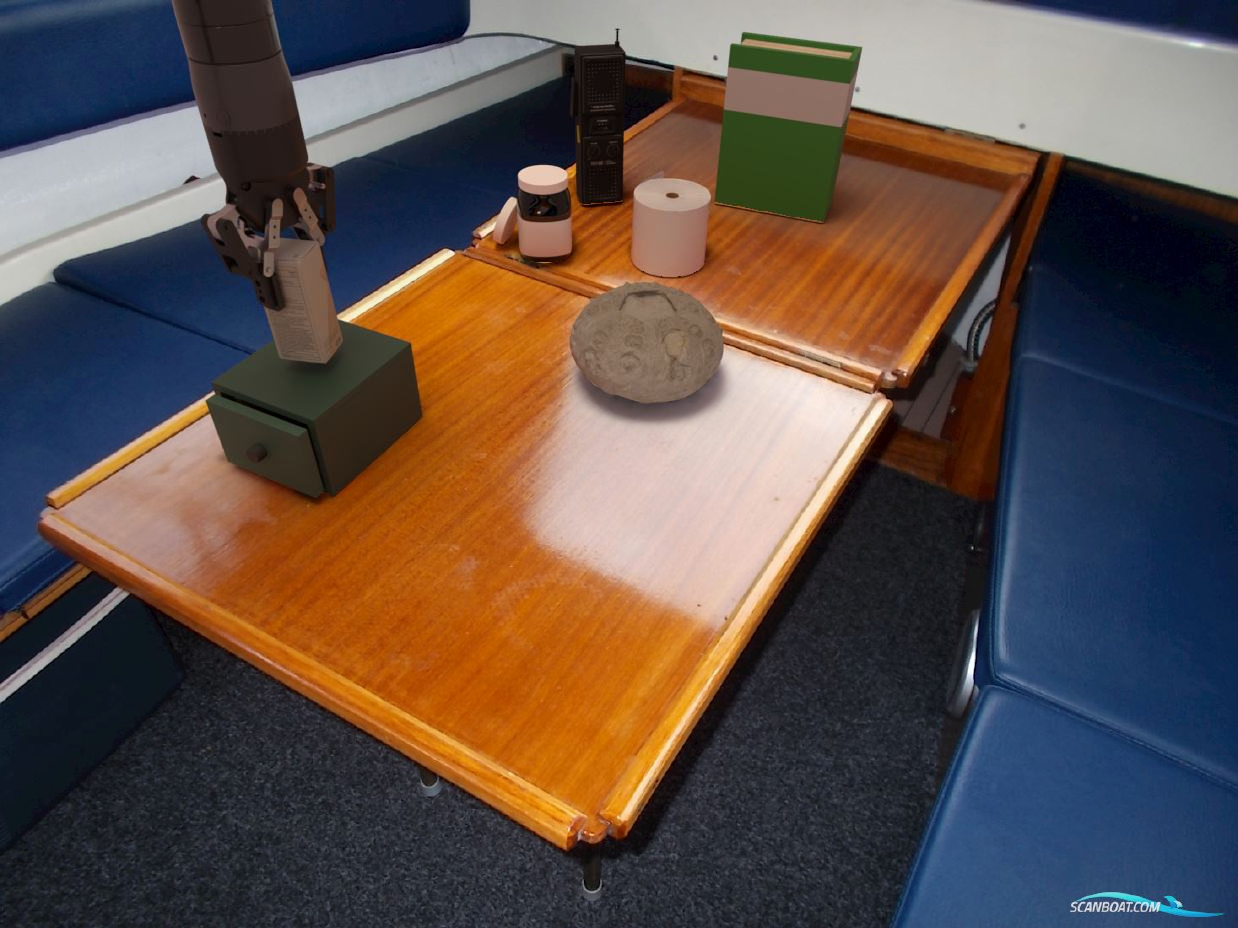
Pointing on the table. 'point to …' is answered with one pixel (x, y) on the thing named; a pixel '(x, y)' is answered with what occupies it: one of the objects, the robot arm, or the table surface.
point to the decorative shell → (647, 342)
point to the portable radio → (599, 121)
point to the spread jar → (539, 215)
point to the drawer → (267, 444)
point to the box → (304, 304)
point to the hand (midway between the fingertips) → (295, 293)
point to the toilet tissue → (669, 226)
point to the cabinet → (336, 397)
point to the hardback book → (785, 124)
